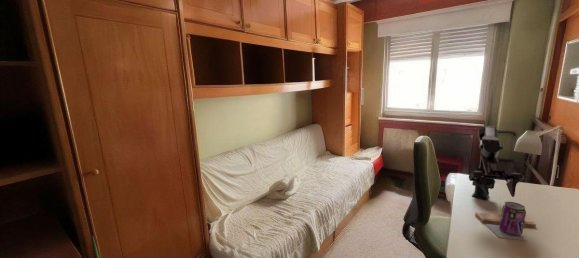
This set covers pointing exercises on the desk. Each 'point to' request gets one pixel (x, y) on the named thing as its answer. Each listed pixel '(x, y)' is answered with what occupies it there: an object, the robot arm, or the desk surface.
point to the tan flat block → (497, 217)
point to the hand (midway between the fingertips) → (500, 195)
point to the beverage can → (512, 218)
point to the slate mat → (502, 233)
